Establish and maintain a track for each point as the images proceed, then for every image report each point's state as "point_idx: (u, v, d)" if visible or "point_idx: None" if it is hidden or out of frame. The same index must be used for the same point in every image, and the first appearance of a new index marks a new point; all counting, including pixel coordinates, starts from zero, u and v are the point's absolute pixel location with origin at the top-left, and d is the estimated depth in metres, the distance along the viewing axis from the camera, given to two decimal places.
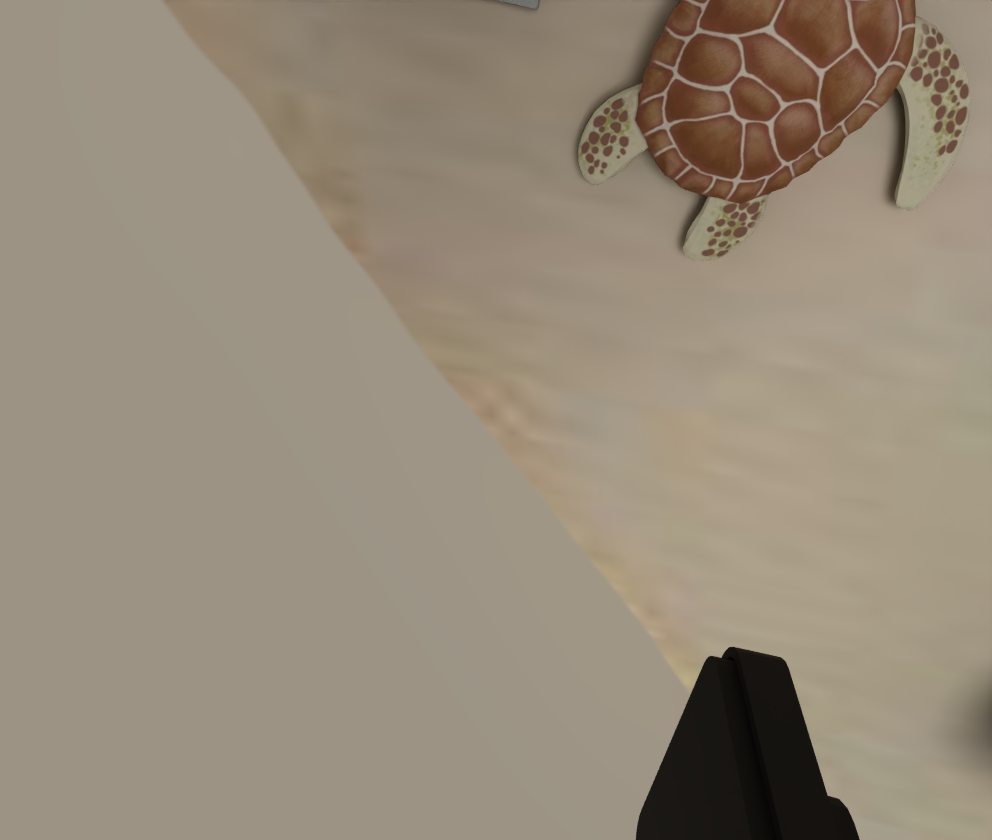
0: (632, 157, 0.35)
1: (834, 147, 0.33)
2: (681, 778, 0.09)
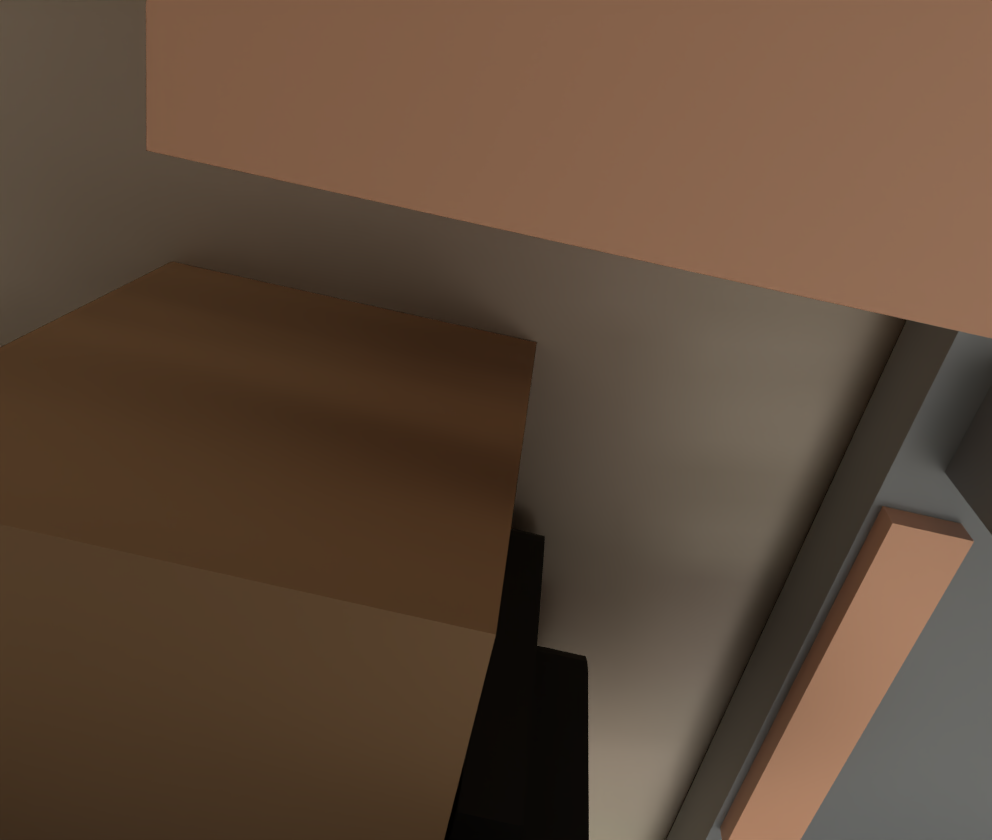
0: None
1: None
2: None
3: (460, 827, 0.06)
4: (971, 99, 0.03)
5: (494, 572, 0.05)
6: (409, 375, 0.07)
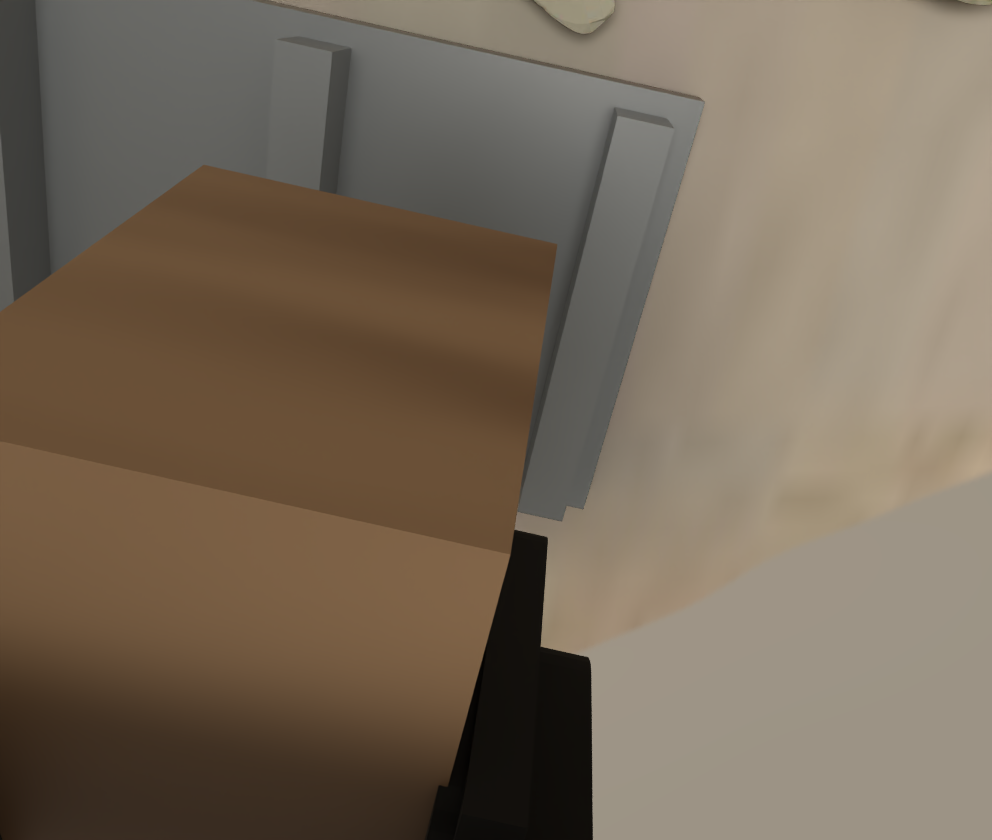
0: None
1: None
2: None
3: (465, 829, 0.06)
4: None
5: (510, 494, 0.05)
6: (433, 289, 0.08)
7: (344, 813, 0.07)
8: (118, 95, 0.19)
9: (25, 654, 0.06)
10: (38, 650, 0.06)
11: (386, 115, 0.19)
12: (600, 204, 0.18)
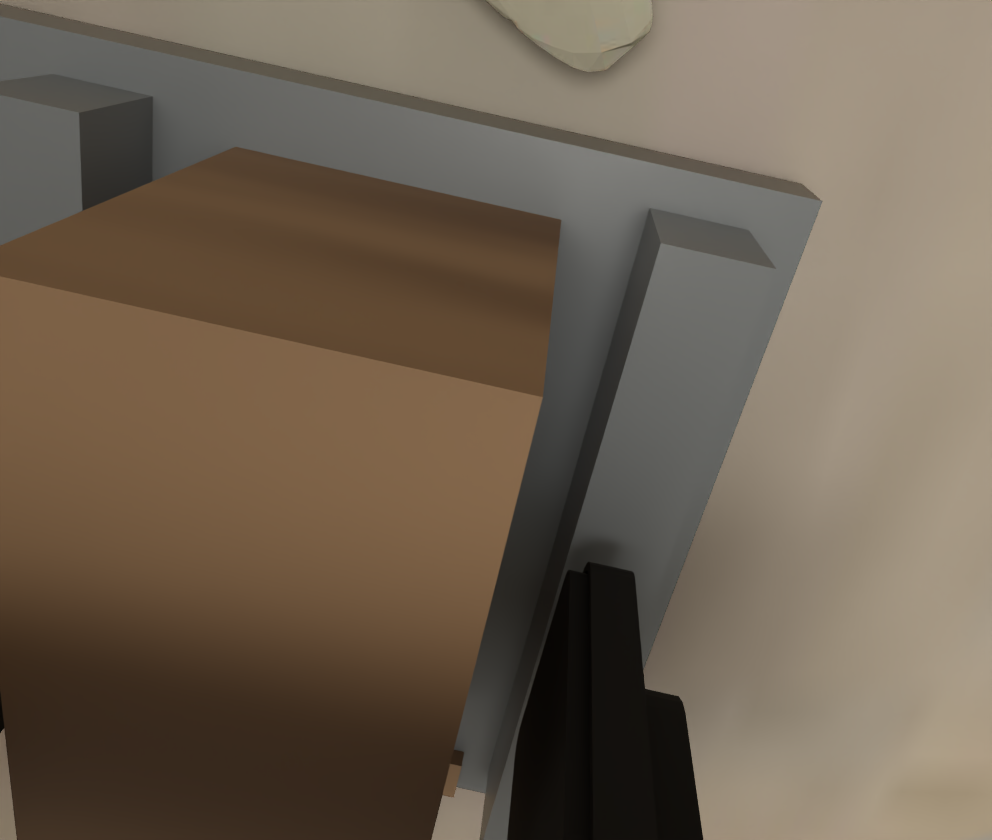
0: None
1: None
2: (542, 683, 0.09)
3: None
4: None
5: (538, 362, 0.06)
6: (453, 237, 0.08)
7: (370, 712, 0.07)
8: None
9: (70, 536, 0.06)
10: (85, 529, 0.06)
11: None
12: (622, 402, 0.09)
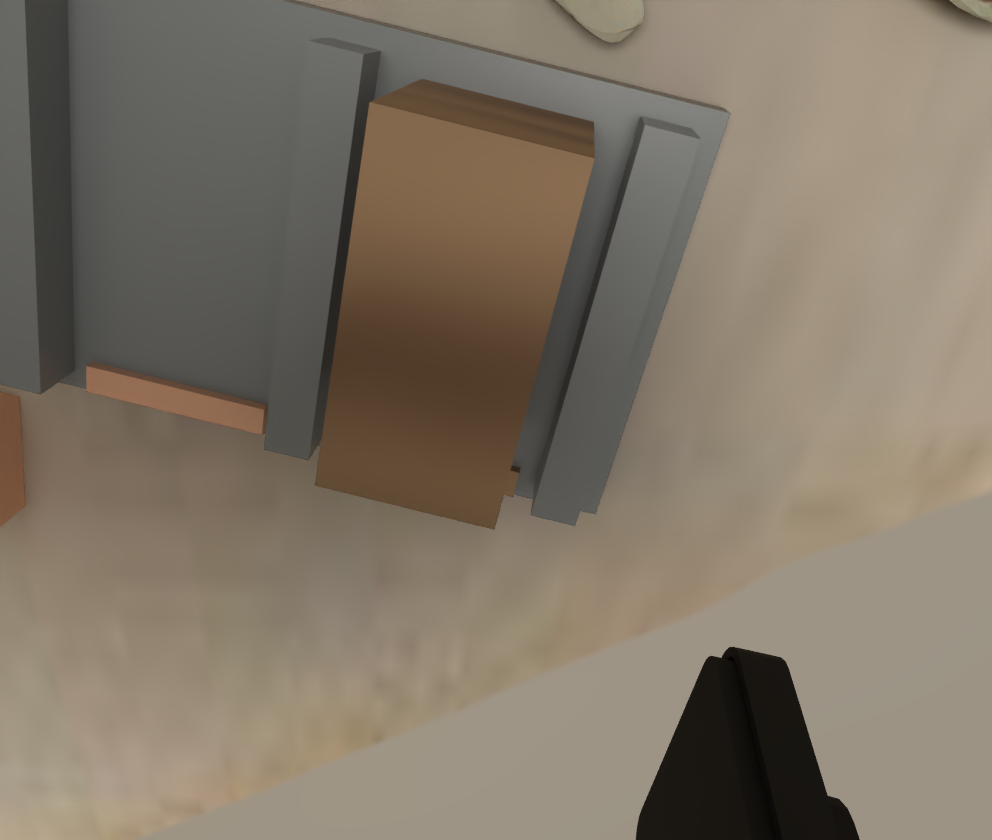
0: None
1: None
2: (681, 778, 0.09)
3: None
4: None
5: (591, 152, 0.15)
6: (543, 119, 0.17)
7: (509, 319, 0.16)
8: (147, 91, 0.19)
9: (390, 227, 0.15)
10: (397, 223, 0.15)
11: None
12: (624, 212, 0.18)
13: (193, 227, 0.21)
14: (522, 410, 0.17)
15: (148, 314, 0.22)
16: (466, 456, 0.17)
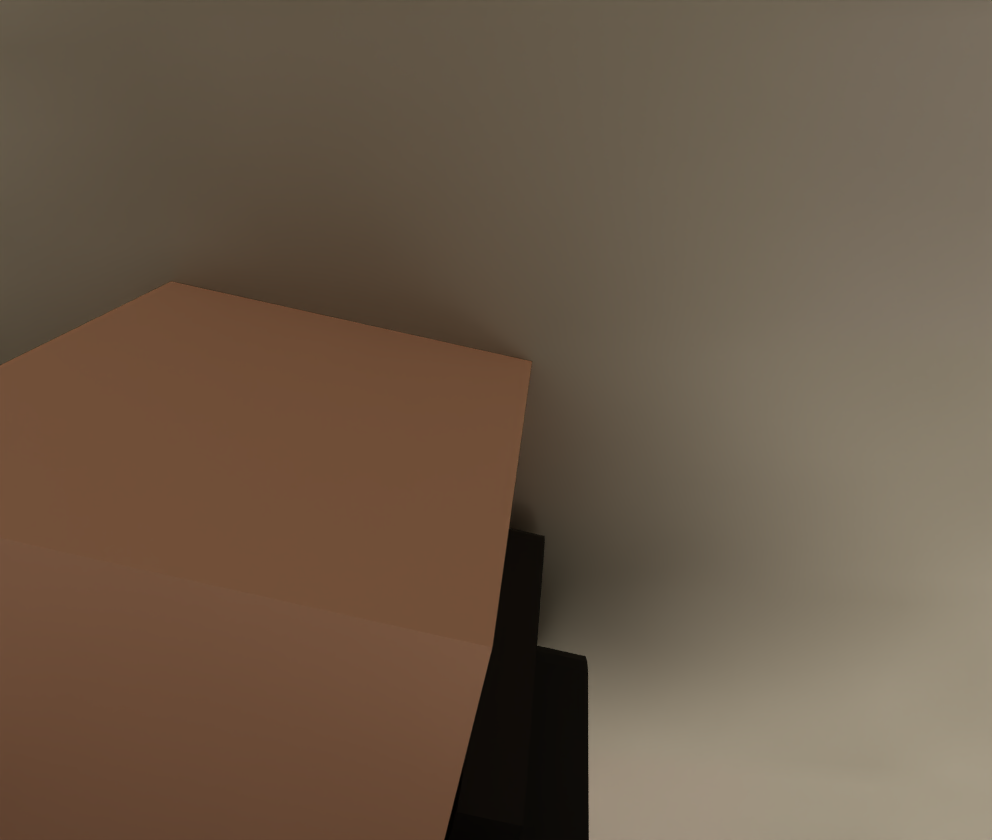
0: None
1: None
2: None
3: (460, 827, 0.06)
4: None
5: None
6: None
7: None
8: None
9: None
10: None
11: None
12: None
13: None
14: None
15: None
16: None
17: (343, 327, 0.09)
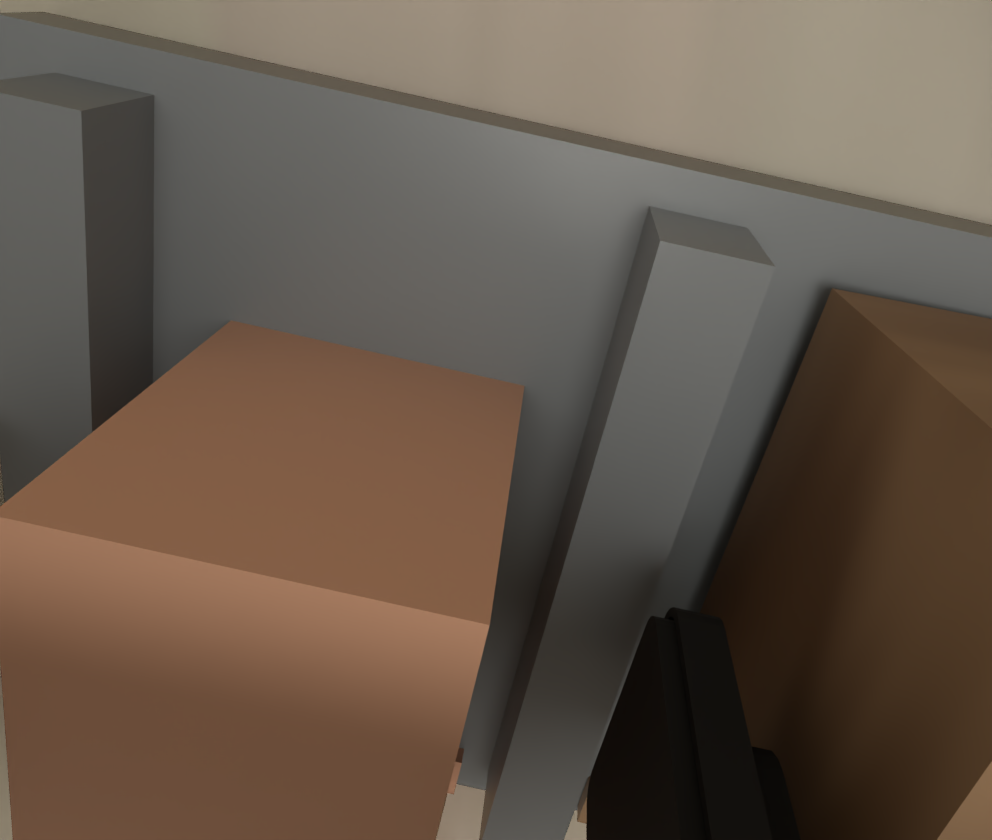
0: None
1: None
2: (624, 733, 0.09)
3: None
4: None
5: None
6: None
7: None
8: (294, 297, 0.11)
9: None
10: None
11: (788, 341, 0.10)
12: None
13: None
14: None
15: None
16: None
17: (370, 362, 0.11)
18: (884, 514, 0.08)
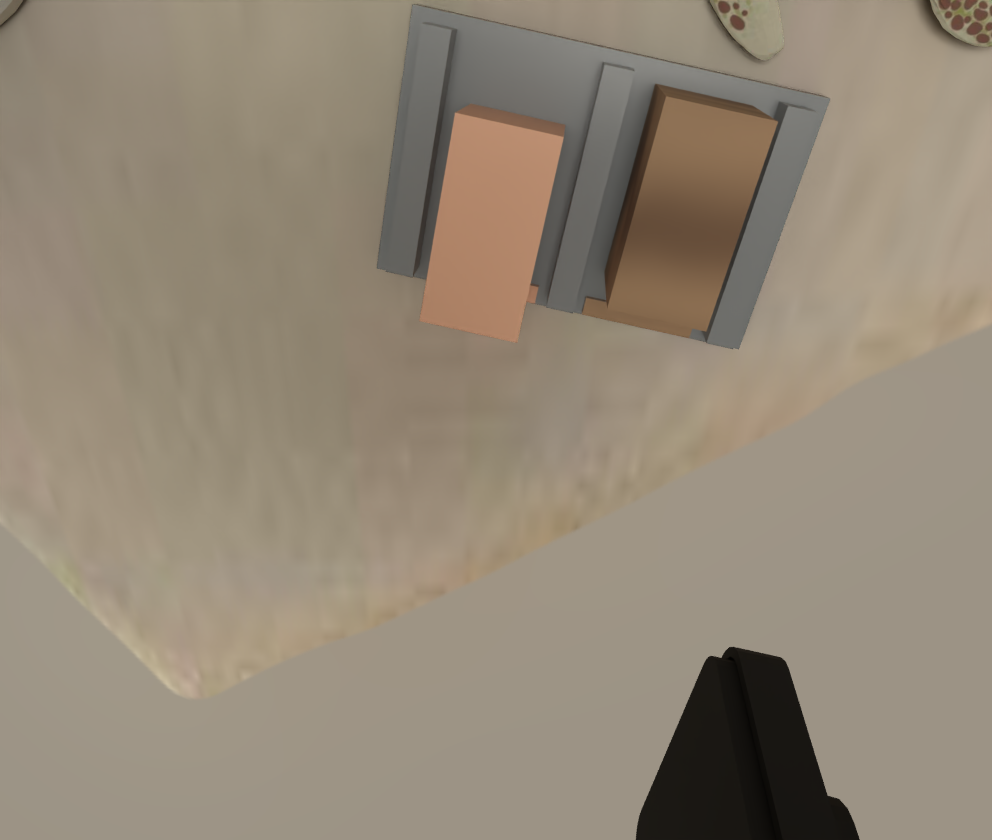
0: None
1: None
2: (681, 778, 0.09)
3: None
4: (499, 318, 0.33)
5: (773, 119, 0.29)
6: (733, 104, 0.32)
7: (726, 207, 0.30)
8: (492, 94, 0.34)
9: (668, 160, 0.30)
10: (672, 158, 0.30)
11: (647, 106, 0.34)
12: (774, 154, 0.32)
13: None
14: (728, 259, 0.31)
15: None
16: (695, 287, 0.32)
17: (517, 114, 0.34)
18: (650, 126, 0.31)
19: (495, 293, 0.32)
